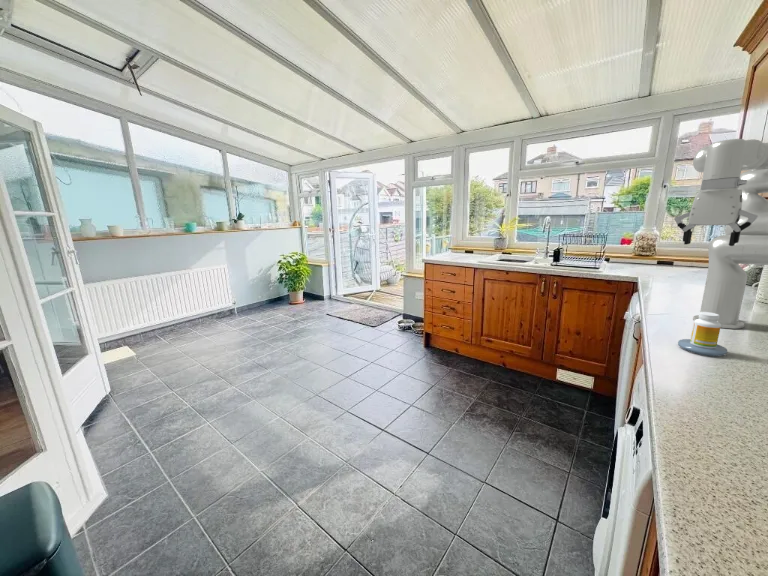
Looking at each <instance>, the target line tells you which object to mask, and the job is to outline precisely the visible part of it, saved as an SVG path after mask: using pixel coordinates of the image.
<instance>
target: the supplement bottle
mask: <svg viewBox="0 0 768 576" xmlns="http://www.w3.org/2000/svg"><path fill="white" fill-rule="evenodd" d="M698 315H699V319H696V320H695V321H694V320H693V326H692V331H691V335H690V339H691V340H690V343H691V344H692V345H694V346H697V347H701V348H707V349H714V348H716V346H717V344H718V340H719V336H720V332H721V329H722V328H721V324H720V323H719V322H717V320H719V315H718V314H715V313H710V312H700V311H699V313H698Z"/></svg>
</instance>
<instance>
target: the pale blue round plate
mask: <svg viewBox="0 0 768 576" xmlns="http://www.w3.org/2000/svg"><path fill="white" fill-rule="evenodd" d="M690 340H691V338H684V339H683V338H682V339H679V340H678V342H677V345H678V347H679V348H681V349H684V350H685V351H687V352H690V353H693V354H696V355H701V356H707V357H719V356H722V357H723V356H725V355H727V353H728V349H727V348H726V347H725V346H723V345H720V344H718V343H717V346H716V348H714V349H707V348H701V347H697V346H694V345H692V344H691V343H690Z"/></svg>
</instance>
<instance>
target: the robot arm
mask: <svg viewBox="0 0 768 576" xmlns="http://www.w3.org/2000/svg"><path fill="white" fill-rule="evenodd" d="M692 163H693V164H692V165H693V168H694V170H695V171H697V172H698V173H703V174H702V179H701V184H700V191H699V192H696V194H695V196H694V199H693V201H692V205H691V207H690V208H691V209H690V211H688V212H685V213H684V214H681V215H678V216H676V217H675V218H674V221H675V222H676V225H677V227H678V228H680V229H681V230H682V232H683V235H682V242H683V245H690V244H691V241H692V236H693V231H692V229H693V228H695V227H697V226H725V229H724V234H725V235H719V236H717V237H715V238H713V239H711V240H710V242H709V244H708V253H707V254H708V265H707V266H708V268H707V274H706V280H705V285H704V290H703V295H702V300H701V304H700V310H699V313H700V312H710V313H715V314H718V315H719V320H717V322H719V323H720V324H721V328H720V329H732V330H733V329H734V330H735V329H742V328H744V327H745V323H744V322H743V321H741V320H739V317H740V314H741V309H742V305H743V301H744V296H745V290H746V288H747V287H746V285H747V281H748V275H747V273H746V271H745V270H744V269H743V267H741V265H744V264H745V265H761V266H768V199H766V198H765V197H764V196H762V195H760V194H766V193H768V142H762V140H759V139H743V138H730V139H723V140H719V141H716V142H712V143H711V144H710V145H709V146H705V147H702V148H700V149H699V150H698V151H696V153H695V154H694V157H693V160H692ZM742 171H743V172H742ZM687 218H688V224H685V222H683V220H684V219H687ZM696 319H699V314H697V315H694V316H692V320H693V322H694V321H695V320H696Z"/></svg>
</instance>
